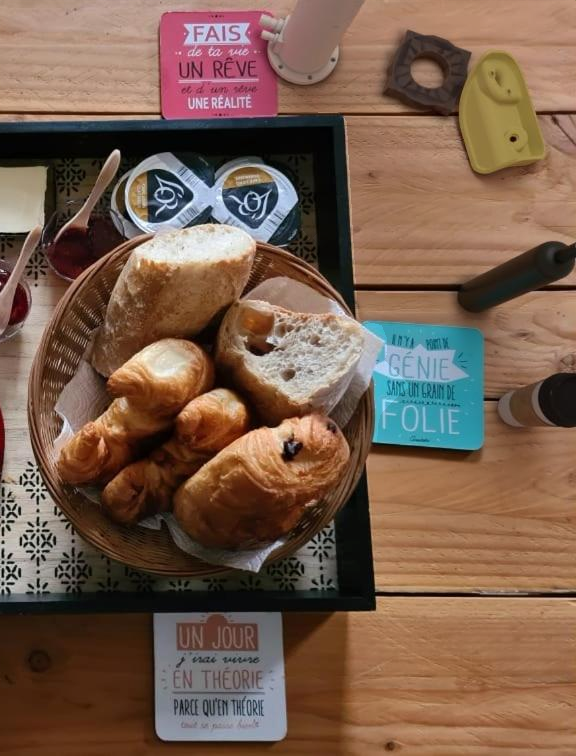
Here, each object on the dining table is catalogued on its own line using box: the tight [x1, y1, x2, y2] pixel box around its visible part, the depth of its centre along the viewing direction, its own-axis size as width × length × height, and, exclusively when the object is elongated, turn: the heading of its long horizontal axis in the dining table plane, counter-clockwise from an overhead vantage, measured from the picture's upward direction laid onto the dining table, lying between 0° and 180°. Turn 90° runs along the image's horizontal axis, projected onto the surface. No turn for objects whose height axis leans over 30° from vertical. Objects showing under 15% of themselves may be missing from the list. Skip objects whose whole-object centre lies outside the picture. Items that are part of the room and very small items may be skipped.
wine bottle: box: [457, 240, 576, 314], centre depth 110 cm, size 6×6×30 cm
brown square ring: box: [382, 29, 473, 117], centre depth 130 cm, size 13×13×2 cm
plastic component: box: [458, 49, 547, 175], centre depth 128 cm, size 20×7×10 cm
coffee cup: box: [497, 371, 576, 429], centre depth 115 cm, size 8×8×15 cm
